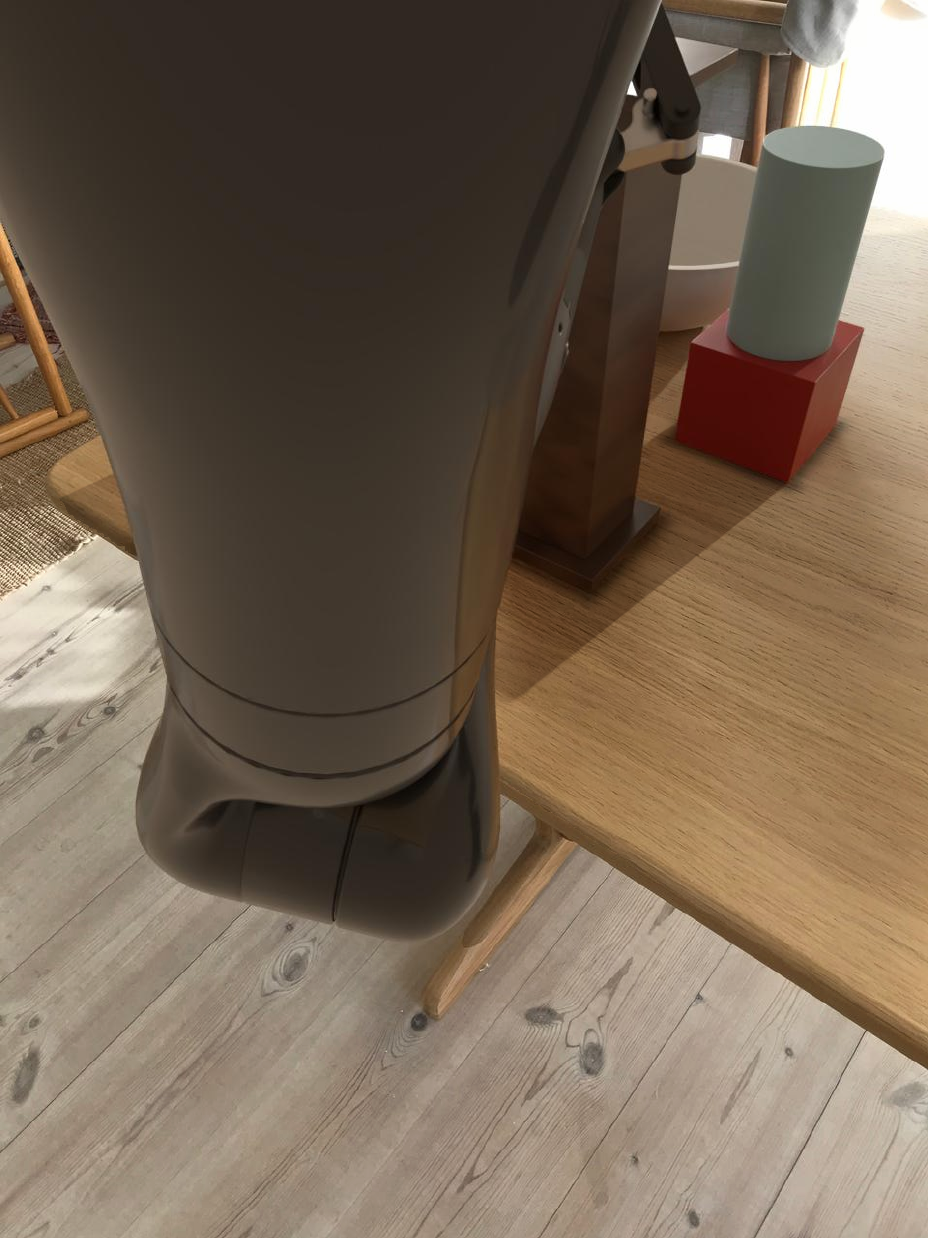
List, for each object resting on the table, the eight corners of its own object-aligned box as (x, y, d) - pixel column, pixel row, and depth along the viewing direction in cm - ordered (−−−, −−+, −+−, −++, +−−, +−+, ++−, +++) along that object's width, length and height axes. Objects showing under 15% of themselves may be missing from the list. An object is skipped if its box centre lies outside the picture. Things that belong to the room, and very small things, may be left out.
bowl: (798, 388, 89) (827, 281, 82) (494, 361, 92) (497, 256, 85) (784, 254, 108) (806, 158, 101) (533, 236, 111) (537, 142, 104)
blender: (835, 425, 85) (921, 139, 69) (787, 483, 79) (869, 185, 63) (726, 388, 89) (783, 110, 73) (673, 440, 83) (722, 152, 67)
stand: (659, 520, 76) (738, 47, 53) (590, 593, 70) (647, 98, 48) (547, 473, 80) (577, 18, 58) (474, 539, 74) (476, 61, 52)
